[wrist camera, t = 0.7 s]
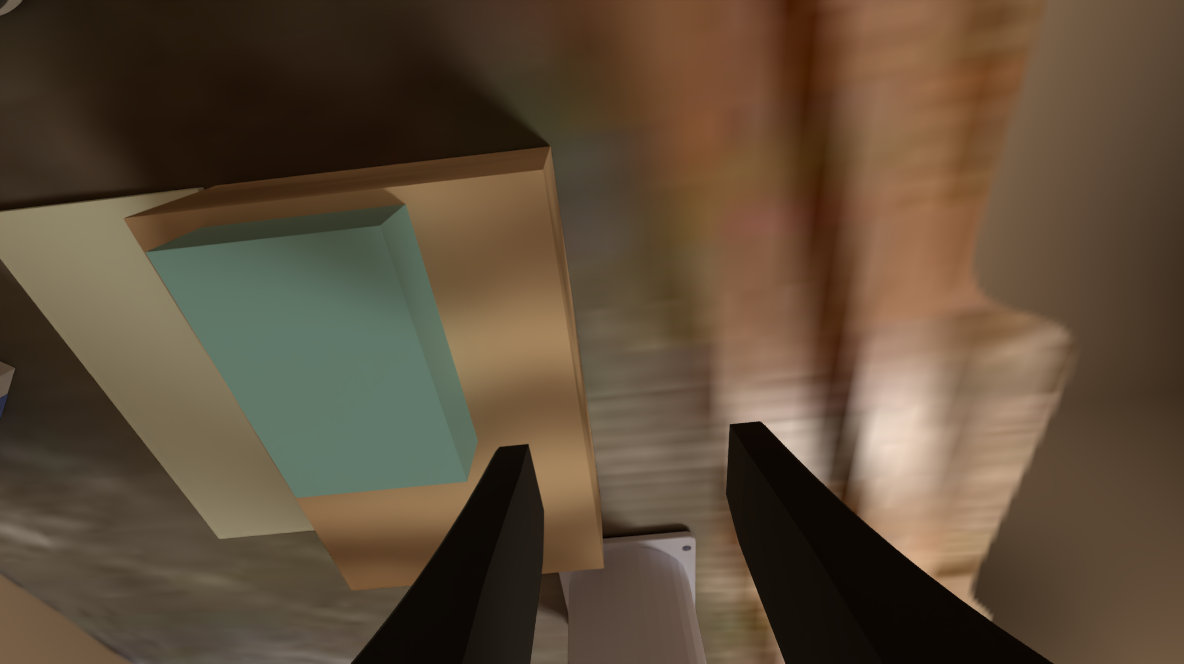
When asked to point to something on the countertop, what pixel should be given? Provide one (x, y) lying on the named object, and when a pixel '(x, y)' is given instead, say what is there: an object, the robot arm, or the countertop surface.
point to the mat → (147, 357)
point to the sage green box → (328, 346)
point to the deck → (453, 343)
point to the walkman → (5, 383)
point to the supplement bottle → (8, 5)
